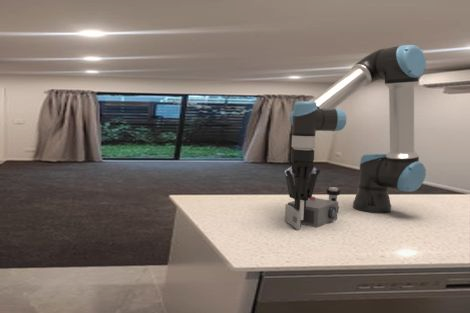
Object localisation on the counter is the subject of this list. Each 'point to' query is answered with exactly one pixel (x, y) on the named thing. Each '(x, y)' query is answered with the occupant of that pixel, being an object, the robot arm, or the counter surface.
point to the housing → (318, 211)
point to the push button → (333, 194)
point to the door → (292, 216)
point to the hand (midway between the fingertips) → (299, 219)
